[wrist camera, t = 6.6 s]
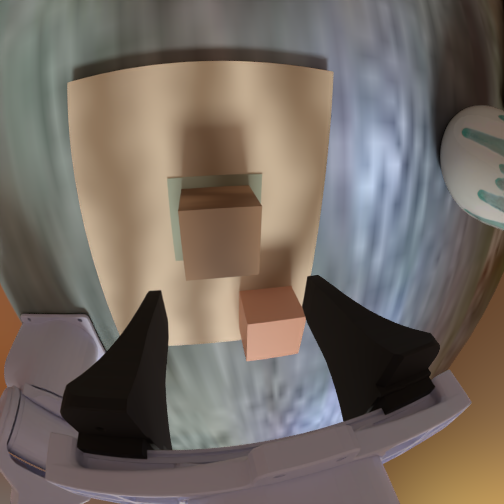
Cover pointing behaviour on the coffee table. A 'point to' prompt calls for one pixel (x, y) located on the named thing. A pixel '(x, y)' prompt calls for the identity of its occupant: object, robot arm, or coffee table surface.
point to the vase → (476, 162)
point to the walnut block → (220, 232)
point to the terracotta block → (270, 322)
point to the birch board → (197, 178)
